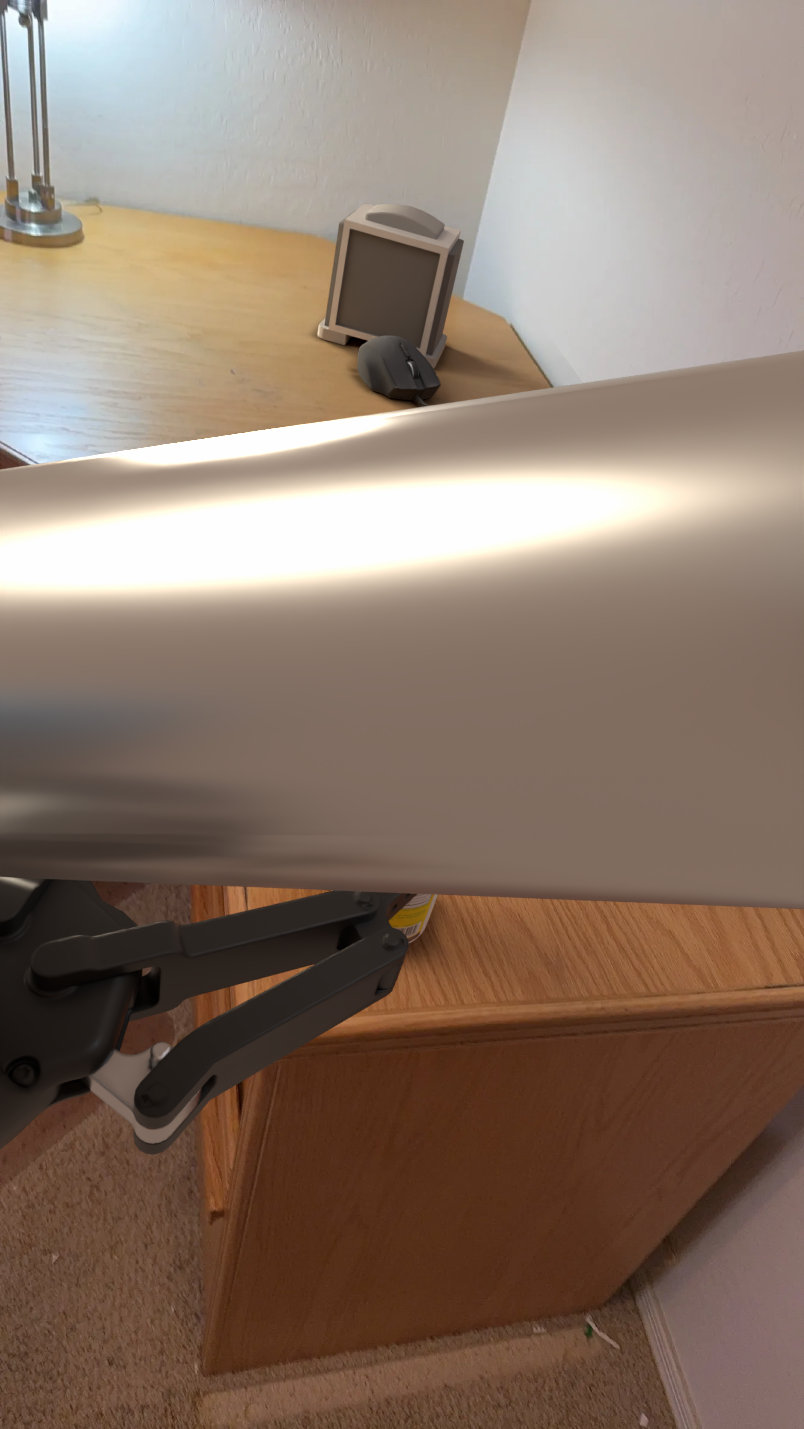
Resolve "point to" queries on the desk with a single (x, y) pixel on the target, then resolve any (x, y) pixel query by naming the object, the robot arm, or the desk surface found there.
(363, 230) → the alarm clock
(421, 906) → the supplement bottle
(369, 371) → the computer mouse
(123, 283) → the desk surface
